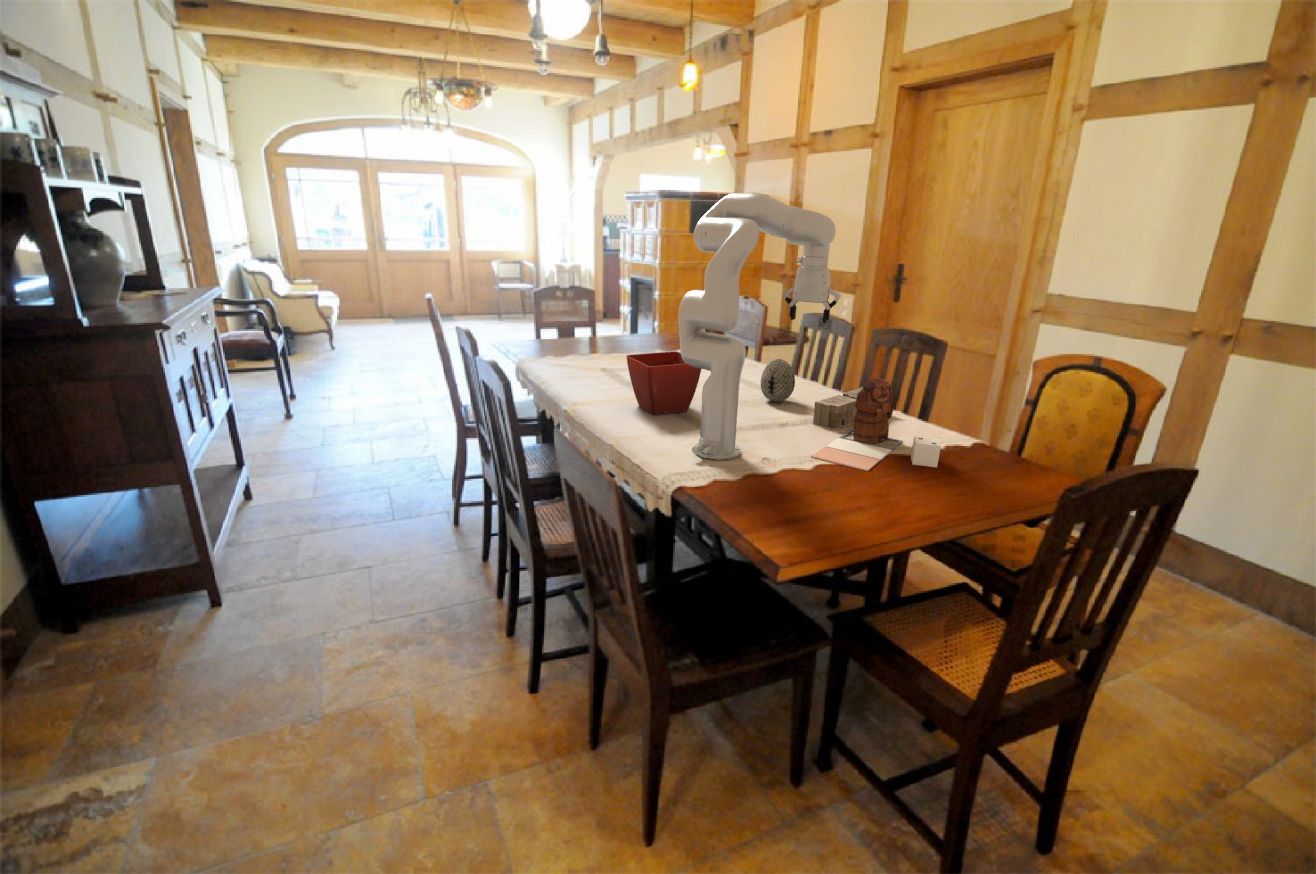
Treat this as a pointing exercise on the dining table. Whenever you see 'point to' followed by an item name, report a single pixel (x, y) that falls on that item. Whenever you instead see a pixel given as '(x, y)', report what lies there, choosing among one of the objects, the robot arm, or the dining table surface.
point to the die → (925, 451)
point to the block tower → (836, 410)
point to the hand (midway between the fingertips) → (808, 321)
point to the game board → (854, 452)
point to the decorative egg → (777, 380)
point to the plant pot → (662, 381)
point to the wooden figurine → (873, 411)
